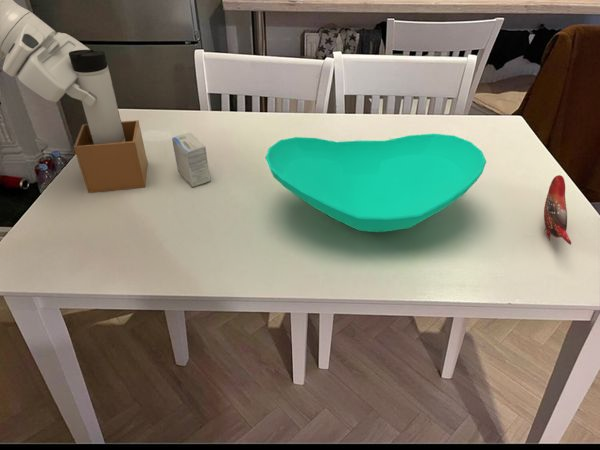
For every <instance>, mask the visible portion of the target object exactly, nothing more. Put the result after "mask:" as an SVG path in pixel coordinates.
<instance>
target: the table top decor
mask: <svg viewBox="0 0 600 450" xmlns="http://www.w3.org/2000/svg"><path fill="white" fill-rule="evenodd" d="M265 161H266V163H267V165H268V167H269V170H270V172H271V175H272V177H273V178H274V179H275V180H276V181H277V182H278V183H280V184H281V185H282V186H283V187H284V188H285V189H287V191H289V192H291V194H293V195H294V196H296V197H297V198H298V199H301V200H302V201H303V202H305V203H307V204H308V205H309V206H311V207H312V208H314V209H316V210H318V211H320V212H321V213H323V214H325V215H326V216H329V217H330V218H332V219H333V220H335V221H338V222H340V223H342V224H344V225H346V226H349V227H350V228H352V229H355V230H357V231H359V232H369V233H386V232H392V231H399V230H400V231H401V230H406V229H410V228H412V227H414V226H416V225H418V224H420V223H421V222H423V221H425V220H427V219H429V218H430V217H432V216H434V215H436V214H438V213H439V212H441V211H443V210H445V209H446V208H447V207H449V206H450V205H452V204H453V203H454V202H456V201H457V200H458V199H460V198H462V197H463V196H464V195H465V194H466V193H467V192H468V191H469V190H470V189H471V188H472V186H473V185H474V184H475V183H476V182H477V181H478V180H479V178H481V176H482V174H483V173H484V170H485V167H486V164H487V160H486V158H485V155H484V153H483V150H481V149H480V148H479V147H477V146H476V145H475V144H474V143H473V142H471V141H469V140H467V139H464V138H462V137H459V136H458V135H457V136H456V135H454V134H453V135H451V134H441V133H425V134H422V133H421V134H411V135H405V136H400V137H396V138H391V139H386V140H347V141H346V140H345V141H344V140H343V141H333V140H328V139H323V138H317V137H304V136H302V137H301V136H294V137H289V138H283V139H279V140H278V141H277V142H275V143H274V144H273V145H271V146H269V148H268V149H267V152H266V156H265Z"/></svg>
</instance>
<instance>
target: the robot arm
mask: <svg viewBox="0 0 600 450" xmlns="http://www.w3.org/2000/svg"><path fill="white" fill-rule="evenodd" d="M76 50H91V49H90V48H89V47H88V46H86V45H85V44H83V43H82V42H80V41H79V40H77V39H76V38H75V37H73V36H71V35H69V34H68V33H64V32H58V31H56V30H54V29H53V28H52V27H51V26H49V25H48V24H47V23H46V22H44V21H43V20H42V19H40V18H39V16H37V15H35V13H33V12H32V11H30V10H28V9H27V8H25V7H23V6H21V5H19V4H18V3H16V1H14V0H0V61H2V60H3V59H4V61H3V66H2V71H3V72H4V73H6V74H7V75H8V76H10V77H12V78H16V77H17V79H18V81H19V82H20V83H22V84H23V85H24V86H26V88H28V89H30V90H31V91H32V92H34V93H35V94H37V95H38V96H40V98H43V99H45V100H46V101H48V102H52V103H58V102H59V101H60V100H61V99H62V97H64V95H65V94H66V95H67V96H69V97H70V98H72V99H75V100H78V101H80V102H82V101H83V102H85V103H86V104H88V105H89V106H92V105H93V103H94V102H95V101H96V99H97V97H96V96H95V95H93V94H92V93H91V92H90V91H89V92H86V91H84V90H82V89H80V88H79V86H78V85H77V83H76V79H77V78H78V75H77V74H76V73H75V71H74V69H73V67H72V64H71V60H70V57H69V52H71V51H76Z"/></svg>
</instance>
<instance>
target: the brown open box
mask: <svg viewBox="0 0 600 450" xmlns="http://www.w3.org/2000/svg"><path fill="white" fill-rule="evenodd" d="M121 123H122V128H123V132H124V136H125V140H126V142H119V143H107V144H94V142H93V140H92V136H91V132H90V129H89V125H88V123H86V124H85V123H84V124H82V125H81V127H80V130H79V132H78V135H77V138H76V139H75V143H74V145H73V150H74V152H75V156H76V159H77V162H78V165H79V168H80V172H81V174H82V178H83V181H84V184H85V188H86V190H87V193H88V194H90V192H92V193H100V192H101V193H102V192H111V191H120V190H130V189H131V190H133V189H141V188H146V185H147V183H146V182H147V175H148V174H147V173H148V167H149V166H148V165H149V162H148V157H147V153H146V148H145V144H144V143H145V142H144V139H143V134H142V129H141V124H140V121H139V120H138V119H137V120H125V121H123V120H122V121H121Z"/></svg>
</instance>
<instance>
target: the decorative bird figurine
mask: <svg viewBox="0 0 600 450" xmlns="http://www.w3.org/2000/svg"><path fill="white" fill-rule="evenodd" d="M547 191H548V192H547V195H546V198H545V202H544V208H543V209H544V210H543V220H544V221H543V222H544V232H545V234H546V236H547V239H548V241H549V242H550V241H551V236H553V237H555V238H562V239H563V240H564V241H565V242H566V243H567V244H568V245H572V241H571V238H570V237H569V235H568V232H567V229H568V210H567V202H566V181H565V178H564V176H563V175H560V174H558V175H556V176H554V177H553V179H552V181H551V183H550V185H549V187H548V190H547Z"/></svg>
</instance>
